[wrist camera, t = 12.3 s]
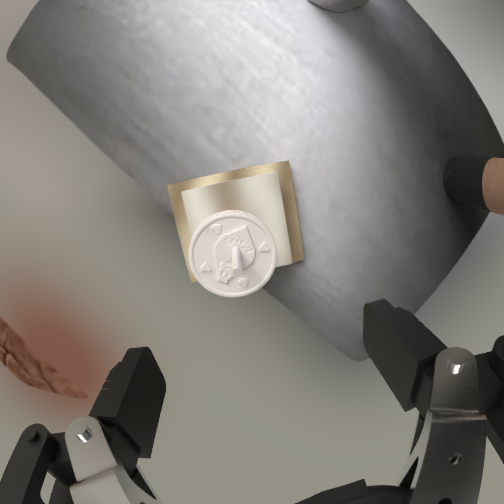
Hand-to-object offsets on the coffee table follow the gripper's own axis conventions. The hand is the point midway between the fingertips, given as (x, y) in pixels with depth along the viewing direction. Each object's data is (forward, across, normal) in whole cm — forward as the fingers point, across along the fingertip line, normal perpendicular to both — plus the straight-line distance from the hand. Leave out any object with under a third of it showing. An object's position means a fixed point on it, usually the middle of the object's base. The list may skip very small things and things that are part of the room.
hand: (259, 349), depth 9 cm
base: (+24, 0, 0) cm, 24 cm away
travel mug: (+25, -35, -1) cm, 43 cm away
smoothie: (+20, +1, 0) cm, 20 cm away
